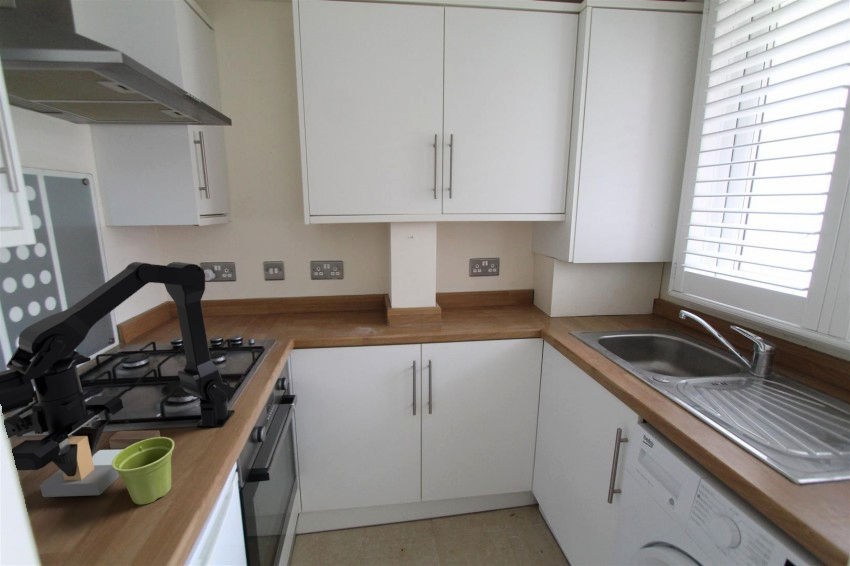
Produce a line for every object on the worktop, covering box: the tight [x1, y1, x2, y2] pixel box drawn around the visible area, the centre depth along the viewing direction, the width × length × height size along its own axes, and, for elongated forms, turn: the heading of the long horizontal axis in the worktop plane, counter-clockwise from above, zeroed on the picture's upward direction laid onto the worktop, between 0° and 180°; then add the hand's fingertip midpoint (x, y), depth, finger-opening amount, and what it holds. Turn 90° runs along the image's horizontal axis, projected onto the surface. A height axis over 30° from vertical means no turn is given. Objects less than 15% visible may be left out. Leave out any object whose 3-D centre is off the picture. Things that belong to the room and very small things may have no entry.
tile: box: [92, 449, 124, 465], centre depth 79 cm, size 6×6×3 cm
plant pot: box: [112, 436, 175, 505], centre depth 72 cm, size 9×9×9 cm
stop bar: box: [108, 430, 161, 450], centre depth 87 cm, size 3×9×2 cm, turn 91°
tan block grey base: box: [39, 435, 120, 498], centre depth 72 cm, size 5×10×10 cm, turn 92°
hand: (79, 469), depth 73 cm, fingers closed on tan block grey base, 3 cm apart
